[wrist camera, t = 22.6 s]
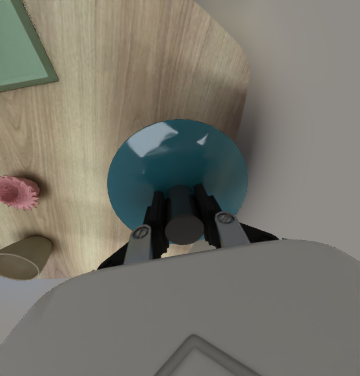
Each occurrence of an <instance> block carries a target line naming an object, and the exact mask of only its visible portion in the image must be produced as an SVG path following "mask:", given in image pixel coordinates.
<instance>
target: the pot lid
mask: <svg viewBox="0 0 360 376" xmlns="http://www.w3.org/2000/svg"><path fill="white" fill-rule="evenodd" d="M200 183H202V185H203V187H204V189H205V191H206V193H207V194H208V196H210V195H213V196H214V197H215V199H216V201H217V202H218V204H219V206H220V207H221V209H222V211H228V212H231V213H233V214H234V215H236V214H237V212H238V211H239V209H240V208H241V206H242V203H243V201H244V198H245V196H246V192H247V186H248V174H247V167H246V164H245V161H244V158H243V156H242V154H241V152H240V151H239V149H238V147H237V146H236V144H235V143H234V142H233V141H232V140H231V139H230V138H229V137H228V136H226V135H225V134H224V133H223V132H221V131H220V130H218V129H216V128H214V127H212V126H210V125H208V124H205V123H202V122H198V121H193V120H184V119H175V120H166V121H162V122H158V123H154V124H152V125H149V126H147V127H145V128H143V129H141V130H139V131H138V132H136V133H135V134H133V135H132V136H131V137H130V138H129V139H127V140H126V141H125V142H124V143H123V145H122V146H121V147H120V148H119V149H118V151H117V153H116V154H115V156H114V158H113V160H112V162H111V165H110V168H109V172H108V180H107V188H108V195H109V199H110V202H111V205H112V207H113V209H114V211H115V213H116V214H117V216H118V217H119V218H120V220H121V221H122V222H123V223H124V224H125V225H126V226H127V227H128V228H130V229H131V230H132V231H133V230H134V229H135V228H136V227H138V226H140V225H143V221H144V217H145V214H146V210H147V207H148V206H151V205H152V200H153V196H154V191H159V190H161V192H163V193H164V197H165V201H166V203H165V223H164V233H165V236H166V238H167V239H168V240H169V244H178V245H188V244H192V243H194V242H196V241H198V240H201V239H204V231H205V227H204V223H203V220H202V217H201V214H200V211H199V208H198V205H197V202H196V199H195V193H194V186H196V184H200Z"/></svg>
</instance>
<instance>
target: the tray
mask: <svg viewBox="0 0 360 376" xmlns="http://www.w3.org/2000/svg"><path fill="white" fill-rule="evenodd" d="M54 81H59V80H58V78H57V76H56V74H55V71H54V69H53V67H52V65H51V63H50V61H49V59H48V57H47V55H46V52H45V50H44V48H43V46H42V44H41V42H40V40H39V38H38V36H37V33H36V31H35V29H34V27H33V25H32V23H31V21H30V19H29V17H28V14H27V12H26V10H25V8H24V6H23V4H22V2H21V0H0V92H1V91H6V90H11V89H17V88H22V87H27V86H33V85H38V84H44V83H49V82H54Z"/></svg>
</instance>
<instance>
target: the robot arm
mask: <svg viewBox="0 0 360 376" xmlns="http://www.w3.org/2000/svg"><path fill="white" fill-rule="evenodd" d="M194 193H195V199H196V202H197V205H198V208H199V211H200V214H201V217H202V220H203V223H204V227H205V231H204V238H205V241H208V242H209V245H213V246H215V247H216V249H213V250H207V251H201V252H195V253H189V254H183V255H177V256H171V257H165V258H161V255H162V254H163V253H167V248H169V240H168V239H167V238H166V236H165V233H164V223H165V203H166V201H165V197H164V193H163V192H161V190H159V191H154V196H153V200H152V205H151V206H148V207H147V210H146V214H145V217H144V221H143V225H140V226H138V227H136V228H135V229H134V230H133V231H132V232H131V235H130V239H129V242H128V243H126V244H125V245H124V246H123V247H121V248H120V249H119V250H118V251H116V252H115V253H114V254H113V255H111V256H110V257H109V258H107V259H106V260H105V261H104V262H103V263H102V264H101V265H100V266H99V267H98V269H97V270H93V271H91V272H88V273H85V274H81V275H79V276H76V277H74V278H71V279H69V280H67V281H65V282H63V283H61V284H59V285H58V286H56V287H54V288H53V289H51V290H50V291H48V292H47V293H46V294H45V295H43V296H42V297H41V298H40V299H39V300H38V301H37V302H36V303H35V304H34V305H33V306H32V307H31V308H30V309H29V311H28V312H27V313H26V314H25V315H24V316H23V318H22V319H21V320H20V322H19V323H18V324H17V325H16V326H15V328H14V329H13V330H12V331H11V333H10V334H9V335H8V336H7V338H6V339H5V340H4V342H3V343H2V344H1V345H0V376H360V262H359V261H358V260H356V259H355V258H353V257H351V256H350V255H348V254H346V253H345V252H343V251H341V250H339V249H337V248H335V247H332V246H329V245H326V244H323V243H318V242H313V241H306V240H291V239H284V238H282V240H279V239H278V238H277V237H276V236H274V235H272V234H270V233H267V232H265V231H261V230H259V229H256V228H254V227H250V226H248V225H245V224H242V223H240V222H239V221H238V220H237V218H236V216H235V215H234V214H233V213H231V212H228V211H222V209H221V207H220V206H219V204H218V202H217V201H216V199H215V197H214V196H213V195H210V196H208V194H207V193H206V191H205V189H204V187H203V185H202V183H200V184H196V186H194Z"/></svg>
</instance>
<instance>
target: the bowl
mask: <svg viewBox="0 0 360 376" xmlns="http://www.w3.org/2000/svg"><path fill="white" fill-rule="evenodd" d="M51 247H52V244H51V242H50V241H49V240H48V239H46V238H44V237H40V236H35V237H31V238H27V239H24V240H21V241H18V242H16V243H13V244H11V245H9V246H7V247H5V248H3V249H1V250H0V276H1V277H4V278H8V279H11V280H17V281H27V280H32V279H35V278H37V277H38V276H39V274H40V273H41V271H42V270H43V268H44V266H45V265H46V263H47V261H48V258H49V255H50V252H51Z"/></svg>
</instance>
